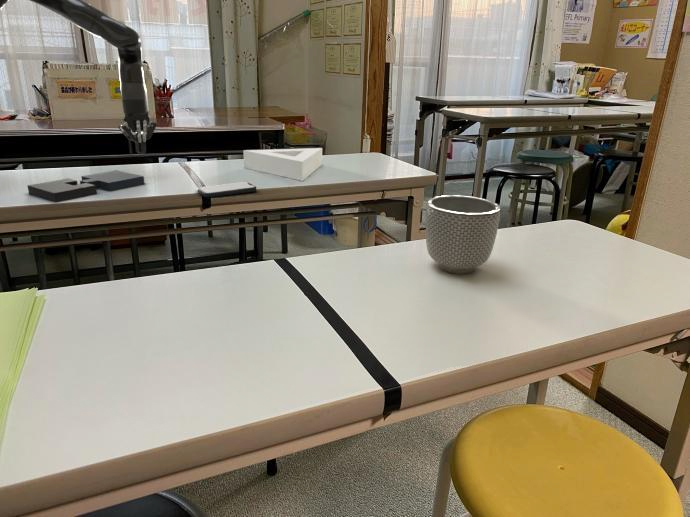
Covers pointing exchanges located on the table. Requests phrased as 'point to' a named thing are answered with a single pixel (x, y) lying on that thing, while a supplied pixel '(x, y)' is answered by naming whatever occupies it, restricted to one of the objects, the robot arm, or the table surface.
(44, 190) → the black pad
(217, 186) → the phone case
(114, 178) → the slate pad
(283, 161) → the triangle block
